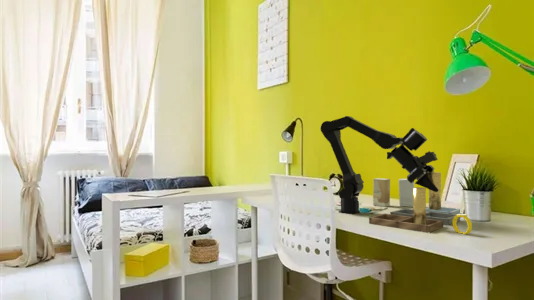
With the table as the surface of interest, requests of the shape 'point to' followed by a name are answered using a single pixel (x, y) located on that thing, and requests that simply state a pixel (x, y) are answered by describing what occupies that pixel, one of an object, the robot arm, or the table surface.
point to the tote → (445, 210)
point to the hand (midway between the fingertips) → (438, 190)
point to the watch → (466, 221)
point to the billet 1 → (419, 205)
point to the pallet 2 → (429, 215)
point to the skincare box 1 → (381, 192)
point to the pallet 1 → (405, 222)
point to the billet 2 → (435, 196)
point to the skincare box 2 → (406, 193)
